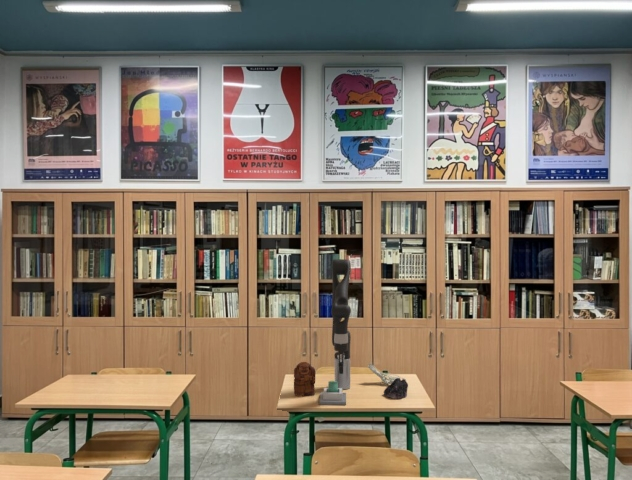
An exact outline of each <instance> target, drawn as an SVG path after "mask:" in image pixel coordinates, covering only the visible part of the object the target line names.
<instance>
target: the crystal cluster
mask: <svg viewBox="0 0 632 480" xmlns="http://www.w3.org/2000/svg"><path fill="white" fill-rule="evenodd" d="M404 379H405V378H404ZM404 379H402V378H396V379H395V380H394V381H393V383H392V384H389V385H388V386H387V387H386V388H385V389H384V390H383V394H384V395H385V396H386V397H388V398H391V399H395V400H398V399H404V398H407V396H408V388H409V384H408V382H407V379H406V380H404Z"/></svg>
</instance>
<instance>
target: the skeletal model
mask: <svg viewBox="0 0 632 480" xmlns="http://www.w3.org/2000/svg"><path fill="white" fill-rule="evenodd" d="M367 368H368V369H369V370H370V371H371V372H372V373H373V374H375V375H376V376H377V377H378V378H380V379H381V381H382V383H385V385H391V384H392V383H393V381H394V380H395V379H396V378H400V379H401V380H402V379H404V380H406V381H407V379H405V378H403V377H401V376H399V375H397V374H394V373H386V372H381V371H378V369H377V367H376V366H375V365H374V364H373V362H369V364H368V365H367ZM391 375H393V376H391Z"/></svg>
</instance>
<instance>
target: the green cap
mask: <svg viewBox="0 0 632 480" xmlns="http://www.w3.org/2000/svg"><path fill="white" fill-rule="evenodd" d="M327 388H328V392H330V393H338V382H337V381H335V380H330V381H328V386H327Z"/></svg>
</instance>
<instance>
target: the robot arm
mask: <svg viewBox="0 0 632 480" xmlns="http://www.w3.org/2000/svg"><path fill="white" fill-rule="evenodd" d="M351 267H352V265H351V261H350V259H345V258H342V259H341V258H337V259H332V261H331V277H332V278H331V279H332V295H331V296H332V297H331V298H332V300H331V301H332V303H331V309H330V310H331V311H330V314H331V316H332V330H331V331H332V332H331V343H332V346H333V349H334V351H335V353H334V381H337V382H338V388H342V390H348V389H350V388H351V332H350V331H349V329H348V325H349V324H348V323H349V320H350V315H351V313H352V309H351V306H350V305H349V295H348V294H349V293H348V292H349V284H350V278H351V271H352V269H351ZM338 276H343V278H342V279H341V280H340V281H339V277H338ZM342 319H343V320H342Z"/></svg>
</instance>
